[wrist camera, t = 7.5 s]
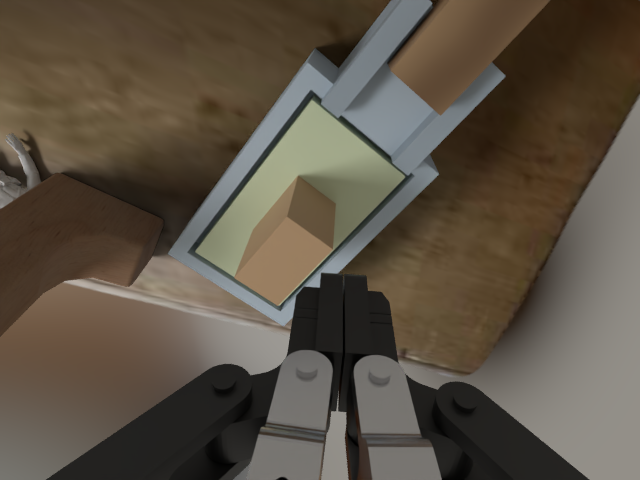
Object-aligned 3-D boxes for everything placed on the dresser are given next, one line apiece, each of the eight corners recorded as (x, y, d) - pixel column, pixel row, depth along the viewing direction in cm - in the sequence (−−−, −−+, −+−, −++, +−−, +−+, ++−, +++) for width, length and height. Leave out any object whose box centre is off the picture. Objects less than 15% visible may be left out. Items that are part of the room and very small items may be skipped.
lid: (201, 240, 31) (166, 302, 25) (314, 93, 26) (302, 128, 20) (282, 292, 33) (267, 361, 27) (402, 167, 28) (418, 219, 22)
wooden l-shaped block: (387, 63, 23) (398, 88, 17) (555, -141, 18) (641, -193, 13) (432, 104, 24) (457, 140, 18) (603, -80, 19) (702, -104, 14)
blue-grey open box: (194, 214, 35) (161, 263, 29) (377, -38, 26) (385, -44, 20) (292, 279, 38) (281, 337, 32) (490, 74, 29) (528, 99, 22)
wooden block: (166, 218, 36) (27, 398, 20) (152, 258, 38) (15, 448, 22) (57, 169, 34) (-186, 324, 19) (48, 214, 36) (-177, 386, 21)
